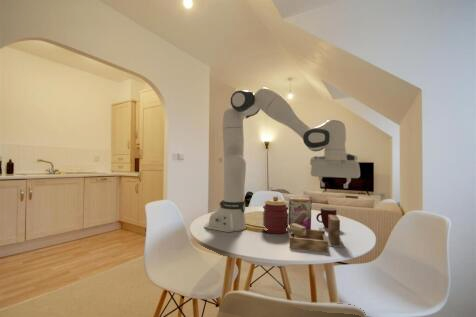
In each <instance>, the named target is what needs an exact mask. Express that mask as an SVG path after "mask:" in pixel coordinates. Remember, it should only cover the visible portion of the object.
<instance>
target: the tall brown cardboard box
mask: <svg viewBox="0 0 476 317" xmlns="http://www.w3.org/2000/svg"><path fill="white" fill-rule="evenodd" d="M327 229H328V231H327V232H328V234H327V236H328V238H329V241H330V244H331V245H340V238H341V234H340V232H341V220H340V219H339V216H337V214H336V215H328V228H327Z"/></svg>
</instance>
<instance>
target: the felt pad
mask: <svg viewBox="0 0 476 317" xmlns="http://www.w3.org/2000/svg"><path fill="white" fill-rule="evenodd" d="M325 236H326V239H327V241H328V248H329V247H331V248H340V249H345V248H346V246H345V244H344V242H343V241H342V239H341V238H342V237H340V245H331V244H330V241H329V238H328V235H325Z"/></svg>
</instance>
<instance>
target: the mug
mask: <svg viewBox="0 0 476 317" xmlns="http://www.w3.org/2000/svg"><path fill="white" fill-rule="evenodd" d="M337 212H338V211H337V209H336V208H332V207H321V208H320V213H317V215H316V218H315V219H316V221H317V222H318V223H321V224H322V225H323V227H324V228H327V229H328V215H337ZM320 217H321V220H320V219H319V218H320Z"/></svg>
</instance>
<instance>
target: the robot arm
mask: <svg viewBox="0 0 476 317" xmlns="http://www.w3.org/2000/svg"><path fill="white" fill-rule="evenodd" d="M230 105H231V107H229V108H227V109H225V111H224V112H223V116H222V139H223V140H222V141H223V146H222V147H223V166H224V170H223V171H224V172H223V173H224V174H223V199H222V200H221V201H220V202H219V203H218V205H219V206H220V207H219V208H217V209H216V210H215V211H214V212H212V213H211V215H210V216H209V218H208V221H207V222H206V223H205V224H204V229H209V230H214V231H220V232H225V233H231V232H238V231H244V230H246V229H247V228H246V226H247V223H246V217H245V216H246V215H245V214H246V213H245V211H246V200H245V184H246V169H247V162H246V160H245V158H244V146H245V143H244V142H245V140H244V139H245V137H244V119H248V118H251V117H253V116H256V115H257V114H258V113H259V112H260V111H261V112H263V113H264V114H265V115H266V116H268V117H269V118H271V119H273V120H274V121H276V122H278V123H280V124H282V125H284V126H286V127H288V128H289V129H291V130H292V131H293V132H294V133H296V134H297V135H298V136H299V137H300V138H302V140H303V143H304V145H305V146H306V147H307V149H309V150H310V151H311V152H320V151H323V150H324V154H323V155H322V156H316V155H315V156H313V157H311V159H310V166H311V167H310V168H311V169H310V176H311V177H314V178H315V177H316V178H317V177H318V180H319V182H320V183H321V184H320V186H321V188H326V186H325V185H326V183H325V182H323V178H341V179H342V178H344V179H345V178H346V183H343V189H349V184H350V183H351V181H352V179H359V178H360V177H361V167H360V163H359V162H358V156H357V155H355V154H351V153H348V152H347V150H346V149H347V148H346V140H347V131H346V130H347V128H346V125H345V123H343V121H341V120H335V119H331V120H330V119H329V120H326V121H325V122H324V123H322V124H321V125H319V126H316V127H312V128H311V127H310V126H308V125H307V124H306V123H305V122H304V121H303V120H301V119H300V118H299V117H298V116H297V114H296V113H295V111H294V109H293V108H292V106H291V105H290V104H289V103H288V101H287V100H285V99H284V97H282V96H281V95H280V94H278V93H277V92H275V91H274V90H272V89H270V88H267V87H261V88H260V89H258V90H257V91H256V92H255V93H254V92H253V90H243V89H242V90H241V89H240V90H236V91H235V92H233V93H232V95H231V96H230ZM245 224H246V226H245Z"/></svg>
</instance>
